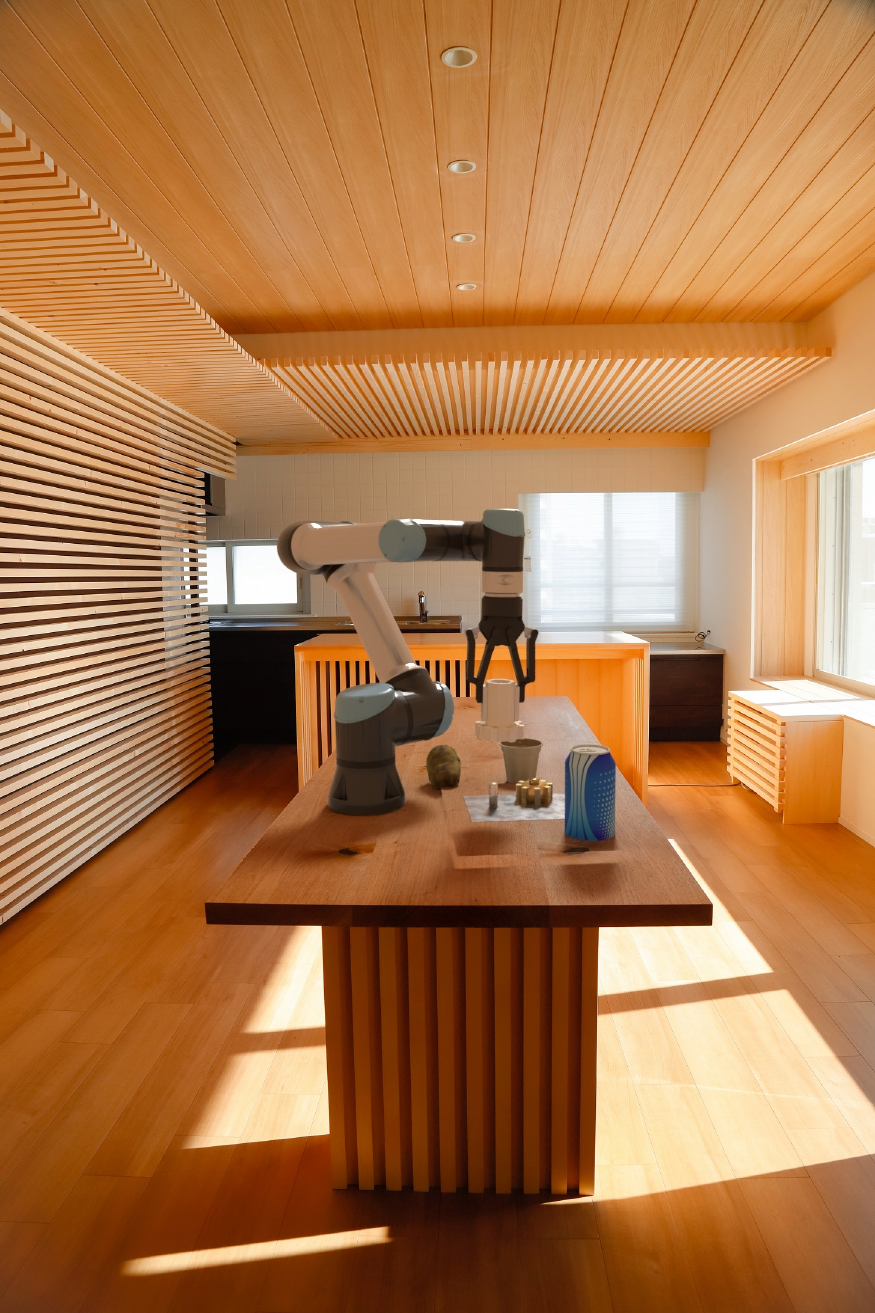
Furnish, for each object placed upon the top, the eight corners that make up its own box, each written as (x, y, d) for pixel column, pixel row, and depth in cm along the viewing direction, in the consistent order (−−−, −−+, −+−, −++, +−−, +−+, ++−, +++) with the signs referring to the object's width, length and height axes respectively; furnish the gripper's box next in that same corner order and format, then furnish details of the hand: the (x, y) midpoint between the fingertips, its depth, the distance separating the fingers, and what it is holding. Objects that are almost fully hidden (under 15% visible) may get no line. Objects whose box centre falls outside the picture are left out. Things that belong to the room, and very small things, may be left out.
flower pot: (541, 788, 169) (541, 748, 168) (496, 786, 170) (496, 746, 169) (544, 776, 178) (544, 738, 177) (502, 775, 180) (501, 737, 179)
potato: (418, 793, 166) (418, 755, 165) (429, 776, 179) (429, 741, 178) (458, 794, 165) (458, 756, 164) (466, 778, 178) (466, 742, 177)
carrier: (472, 830, 143) (471, 797, 142) (463, 803, 159) (463, 773, 158) (593, 826, 144) (594, 793, 144) (573, 799, 160) (573, 770, 159)
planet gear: (479, 743, 145) (480, 685, 144) (472, 731, 154) (473, 677, 153) (527, 742, 146) (529, 685, 145) (518, 731, 155) (519, 677, 153)
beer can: (580, 829, 143) (580, 741, 141) (623, 839, 137) (624, 747, 136) (555, 842, 136) (555, 750, 134) (599, 853, 131) (600, 757, 129)
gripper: (454, 596, 142) (453, 724, 145) (556, 596, 143) (552, 723, 147) (450, 593, 149) (448, 716, 153) (546, 593, 151) (543, 715, 154)
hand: (499, 719), depth 150 cm, fingers closed on planet gear, 5 cm apart
